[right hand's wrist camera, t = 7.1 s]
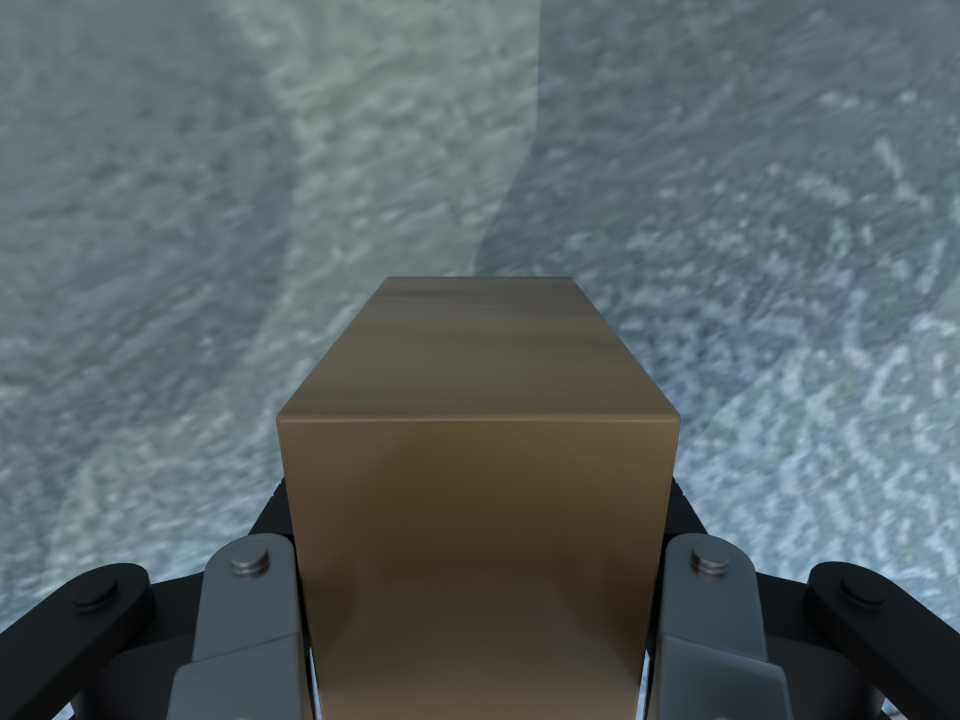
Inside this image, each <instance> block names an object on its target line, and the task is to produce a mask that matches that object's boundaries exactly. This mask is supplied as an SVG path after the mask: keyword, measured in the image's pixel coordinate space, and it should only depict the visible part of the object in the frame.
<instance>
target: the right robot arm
mask: <svg viewBox="0 0 960 720" xmlns="http://www.w3.org/2000/svg"><path fill="white" fill-rule="evenodd" d="M310 648H311V643H310V637H309V630H308V624H307V617H306V611H305V604H304V598H303V591H302V585H301V578H300V572H299V565H298V559H297V552H296V546H295V539H294V533H293V527H292V520H291V514H290V507H289V501H288V494H287V488H286V481H285V476H284V477H283V479H282V481H281V484H279V485H278V487H277V489H276V490H275V492H274V496H272V497H271V498H270V500H269V502H268V503H267V505H266V506H265V508H264V510H263V511H262V513H261V514H260V516H259V518H258V519H257V521H256V523H255V524H254V526H253V527H252V529H251V531H250V532H249V534H248V535H247V536H245V537H242V538H239V539H237V540H234V541H232V542H230V543H229V544H227V545H225V546H224V547H222V548H221V549H220V550H218V551H217V552H216V553H215V554H214V555H213V556H212V557H211V559H210V560H209V561H208V563H207V565H206V567H205V571H203V572H200V573H197V574H194V575H190V576H186V577H182V578H177V579H173V580H168V581H164V582H160V583H155V584H151V583H150V580H149V576H148V573H147V571H146V570H145V569H144V568H143V567H141V566H139V565H136V564H132V563H117V564H110V565H106V566H102V567H99V568H96V569H93V570H90V571H88V572H85V573H83V574H81V575H79V576H77V577H75V578H74V579H72V580H70V581H69V582H67V583H66V584H64V585H63V586H61V587H60V588H59V589H57V590H56V591H55V592H53V593H52V594H51V595H50V596H48V597H47V598H46V599H44V600H43V601H42V602H41V603H39V604H38V605H37V606H35V607H34V608H33V609H32V610H30V611H29V612H28V613H26V614H25V615H24V616H23V617H21V618H20V619H19V620H17V621H16V622H15V623H14V624H12V625H11V626H10V627H8V628H7V629H6V630H5V631H3V632H2V633H1V634H0V720H52V719H53V718H54V717H55V716H56V715H57V714H58V713H59V712H60V711H61V710H62V709H63V708H64V707H65V706H66V705H67V704H68V703H69V702H70V703H71V705H72V708H73V711H74V715H73V716H72V717H71V718H70V719H69V720H317V712H316V701H315V690H314V680H313V669H312V662H311V656H310ZM646 649H647V652H648V655H649V662H648V669H647V679H646V690H645V701H644V711H643V720H891V719H890V718H889V717H888V716H887V715H886V713H885V712H884V711H883V710H882V709H881V708H882V706H883V703H884V700H885V698H887V699H888V700H889V701H890V702H891V703H892V704H893V705H894V706H895V707H896V708H897V709H898V710H899V711H900V712H901V713H902V714H903V715H904V716H905V717H906V718H907V719H908V720H960V634H959V633H958V632H957V631H955V630H954V629H953V628H952V627H950V626H949V625H948V624H946V623H945V622H944V621H943V620H941V619H940V618H939V617H937V616H936V615H935V614H934V613H932V612H931V611H930V610H928V609H927V608H926V607H925V606H923V605H922V604H921V603H919V602H918V601H917V600H916V599H914V598H913V597H912V596H910V595H909V594H908V593H907V592H905V591H904V590H903V589H901V588H900V587H899V586H897V585H896V584H895V583H893V582H892V581H890V580H889V579H887V578H885V577H884V576H882V575H880V574H878V573H876V572H874V571H872V570H869V569H867V568H864V567H861V566H858V565H855V564H850V563H845V562H836V561H830V562H823V563H820V564H818V565H816V566H814V567H813V568H812V570H811V572H810V575H809V578H808V582H807V584H805V583H801V582H796V581H792V580H787V579H783V578H779V577H774V576H770V575H766V574H762V573H759V572H756V571H755V567H754V565H753V563H752V561H751V560H750V559H749V557H748V556H747V555H746V554H745V553H744V552H743V551H742V550H740V549H739V548H738V547H736V546H735V545H733V544H731V543H730V542H728V541H725V540H723V539H721V538H718V537H715V536H712V535H709V534H708V533H707V531H706V529H705V528H704V526H703V525H702V523H701V521H700V520H699V518H698V516H697V515H696V513H695V512H694V510H693V508H692V507H691V505H690V503H689V502H688V500H687V498H686V497H685V496H683V492H682V490H681V489H680V487H679V485H678V484H677V483H675V479H674V477H673V476H672V482H671V488H670V495H669V501H668V508H667V515H666V521H665V528H664V534H663V541H662V547H661V554H660V560H659V567H658V574H657V580H656V587H655V593H654V600H653V606H652V613H651V619H650V626H649V633H648V639H647V646H646Z"/></svg>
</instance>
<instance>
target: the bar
mask: <svg viewBox="0 0 960 720" xmlns="http://www.w3.org/2000/svg"><path fill="white" fill-rule="evenodd" d="M276 423H277V429H278V436H279V442H280V449H281V455H282V462H283V468H284V475H285V481H286V488H287V494H288V501H289V507H290V514H291V520H292V527H293V533H294V539H295V546H296V552H297V559H298V565H299V572H300V578H301V585H302V591H303V598H304V604H305V611H306V617H307V624H308V630H309V637H310V643H311V650H312V656H313V663H314V669H315V676H316V682H317V689H318V695H319V702H320V708H321V715H322V720H635V718H636V711H637V705H638V698H639V692H640V685H641V678H642V672H643V665H644V659H645V652H646V646H647V639H648V633H649V626H650V619H651V613H652V606H653V600H654V593H655V587H656V580H657V574H658V567H659V560H660V554H661V547H662V541H663V534H664V528H665V521H666V515H667V508H668V501H669V495H670V488H671V482H672V475H673V469H674V462H675V455H676V449H677V442H678V436H679V429H680V423H681V418H680V414H679V413H678V412H677V410H676V409H675V408H674V407H673V405H672V404H671V403H670V402H669V400H668V399H667V398H666V397H665V395H664V394H663V393H662V391H661V390H660V389H659V388H658V386H657V385H656V384H655V383H654V381H653V380H652V379H651V378H650V376H649V375H648V374H647V373H646V371H645V370H644V369H643V367H642V366H641V365H640V364H639V362H638V361H637V360H636V359H635V357H634V356H633V355H632V354H631V352H630V351H629V350H628V349H627V347H626V346H625V345H624V343H623V342H622V341H621V340H620V338H619V337H618V336H617V335H616V333H615V332H614V331H613V330H612V328H611V327H610V326H609V324H608V323H607V322H606V321H605V319H604V318H603V317H602V316H601V314H600V313H599V312H598V311H597V309H596V308H595V307H594V306H593V304H592V303H591V302H590V300H589V299H588V298H587V297H586V295H585V294H584V293H583V292H582V290H581V289H580V288H579V287H578V285H577V284H576V283H575V282H574V280H573V279H572V278H571V277H387V278H386V279H385V280H384V282H383V283H382V284H381V285H380V287H379V288H378V289H377V290H376V292H375V293H374V294H373V295H372V297H371V298H370V299H369V300H368V302H367V303H366V304H365V305H364V307H363V308H362V309H361V310H360V312H359V313H358V314H357V315H356V317H355V318H354V319H353V320H352V322H351V323H350V324H349V325H348V327H347V328H346V329H345V330H344V332H343V333H342V334H341V335H340V337H339V338H338V339H337V340H336V342H335V343H334V344H333V345H332V347H331V348H330V349H329V350H328V352H327V353H326V354H325V355H324V357H323V358H322V359H321V360H320V362H319V363H318V364H317V365H316V367H315V368H314V369H313V370H312V372H311V373H310V374H309V375H308V377H307V378H306V379H305V380H304V382H303V383H302V384H301V386H300V387H299V388H298V389H297V391H296V392H295V393H294V394H293V396H292V397H291V398H290V399H289V401H288V402H287V403H286V404H285V406H284V407H283V408H282V409H281V411H280V412H279V413H278V414H277V418H276Z"/></svg>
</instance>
